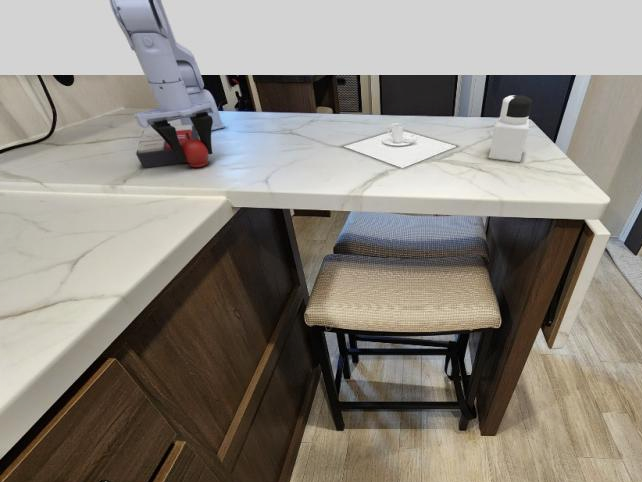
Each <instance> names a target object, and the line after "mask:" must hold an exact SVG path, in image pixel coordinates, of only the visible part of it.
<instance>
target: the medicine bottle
mask: <svg viewBox="0 0 642 482" xmlns="http://www.w3.org/2000/svg"><path fill="white" fill-rule="evenodd" d="M532 105H533V100H532V98H531V97H529V96H525V95H521V94H519V95H516V94H515V95H513V94H512V95H508V96H506V97H504V98H503V99H502V103H501V109H500V114H499V117H497V120H496V122H495V124H494V126H493V132H492V136H491V137H492V138H491V142H490V147H489V153H488V159H492V160H500V161H506V162H507V161H508V162H515V163H520V162H521V160H522V157H523V152H524V148H525V145H526V141H527V136H528V133H529V129H530V123H531V120H530V119H529V117H530V113H531V110H532Z"/></svg>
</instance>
